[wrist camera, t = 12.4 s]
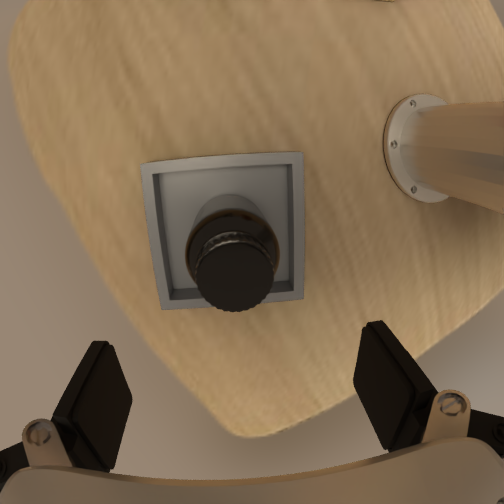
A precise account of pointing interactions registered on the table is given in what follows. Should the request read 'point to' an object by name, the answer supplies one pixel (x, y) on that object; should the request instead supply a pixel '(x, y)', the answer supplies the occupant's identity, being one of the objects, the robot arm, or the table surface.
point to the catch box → (208, 187)
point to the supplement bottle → (232, 253)
